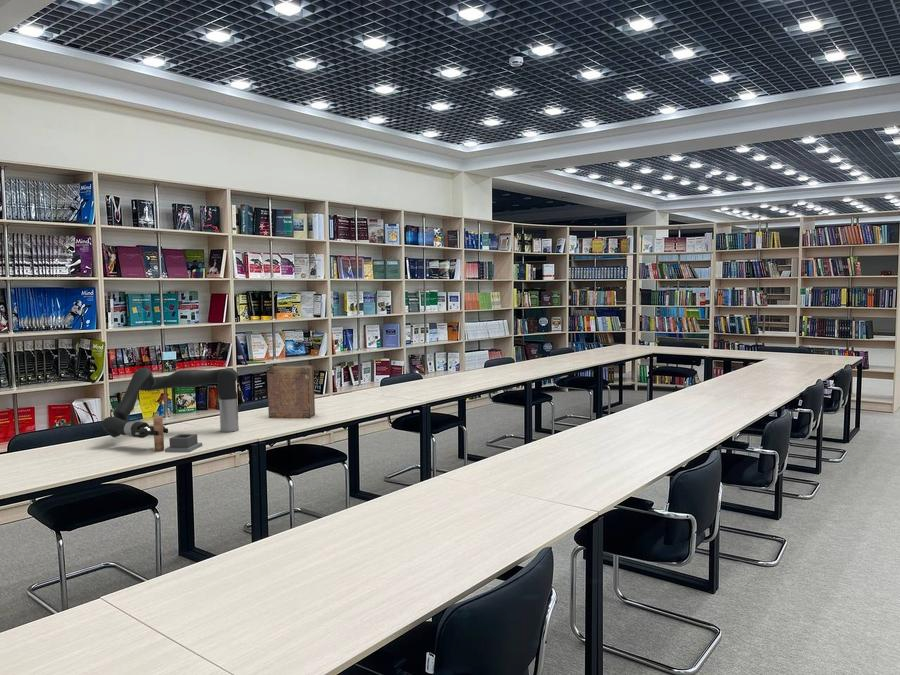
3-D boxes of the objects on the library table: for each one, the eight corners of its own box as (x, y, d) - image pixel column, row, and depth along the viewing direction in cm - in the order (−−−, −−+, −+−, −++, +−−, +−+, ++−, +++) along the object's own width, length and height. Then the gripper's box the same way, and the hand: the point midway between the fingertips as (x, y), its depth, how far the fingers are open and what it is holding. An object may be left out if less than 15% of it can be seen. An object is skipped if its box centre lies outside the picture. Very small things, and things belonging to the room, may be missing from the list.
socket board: (178, 445, 309) (178, 433, 309) (202, 445, 308) (201, 433, 308) (165, 451, 298) (164, 439, 297) (189, 452, 296) (189, 439, 296)
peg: (157, 449, 302) (156, 416, 301) (165, 449, 302) (164, 416, 301) (153, 451, 298) (151, 417, 297) (161, 451, 298) (159, 417, 297)
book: (315, 415, 381) (313, 365, 378) (309, 418, 371) (308, 367, 369) (274, 414, 384) (273, 365, 382) (268, 417, 375) (266, 367, 373)
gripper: (149, 433, 312) (175, 436, 305) (124, 440, 299) (150, 443, 292) (148, 418, 311) (174, 421, 304) (123, 424, 298) (149, 427, 291)
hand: (162, 432), depth 298 cm, fingers open, 5 cm apart
